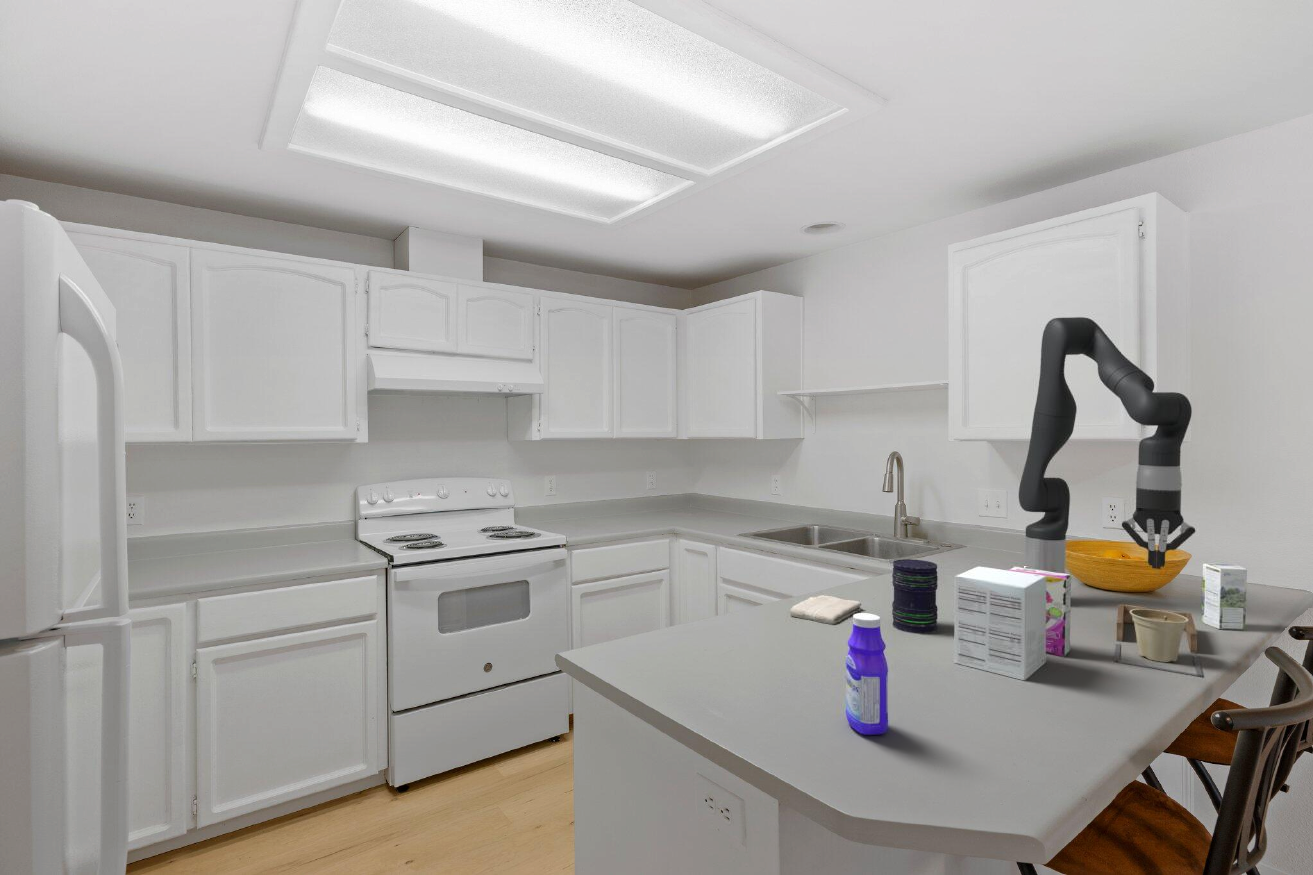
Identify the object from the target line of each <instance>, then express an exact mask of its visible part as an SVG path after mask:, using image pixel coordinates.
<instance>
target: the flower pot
mask: <svg viewBox="0 0 1313 875" xmlns="http://www.w3.org/2000/svg"><path fill="white" fill-rule="evenodd" d="M1130 614H1131V615H1132V619H1133V621H1134V629H1135V635H1136V636H1135V637H1136V644H1137V653H1138V655H1139V656H1140V657H1145V658H1147V659H1148V660H1151V661H1155V662H1161V663H1169V662H1173V663H1174V662H1177V660H1178V658H1179V657H1178V655H1179V651H1180V646H1181V640H1182V636H1183V632H1184V631H1183V629H1184V628H1185V625H1186V623H1187V622H1188V619H1187V618H1186V617H1184V616H1181V615H1178V614H1174V613H1171V612H1166V611H1160V610H1152V609H1133V610H1130Z"/></svg>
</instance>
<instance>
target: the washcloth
mask: <svg viewBox="0 0 1313 875" xmlns="http://www.w3.org/2000/svg"><path fill="white" fill-rule="evenodd" d="M861 606H862V602H861V601H857V600H852V599H851V600H848V599H841V598H838V597H835V596H831V595H823V594H821V595H818V596H810V597H808V599H806V600H802V601H800V602H798V603H797V604H794V605H793V606H792V607H791V608H790V610H789V611H790V612H789V615H790V616H792V617H794V618H796V619H797V618H798V619H803V620H804V619H805V620H809V621H814V622H815V623H816V622H817V623H823V624H828V625H832V626H833V625H836V624H837V623H839V622H841V621H843V620H846V619H847V618H848V617H850V616H853V615H854V614H857V613H859V611H862V608H861Z"/></svg>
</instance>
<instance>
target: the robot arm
mask: <svg viewBox="0 0 1313 875" xmlns="http://www.w3.org/2000/svg"><path fill="white" fill-rule="evenodd" d="M1041 337H1042V338H1041V347H1040V348H1041V349H1040V367H1039V368H1040V370H1039V378H1038V388H1037V394H1036V400H1035V406H1034V412H1033V418H1032V425H1031V434H1030V441H1029V445H1028V452H1027V455H1026V459H1025V464H1024V468H1023V471H1022V475H1021V477H1020V478H1021V479H1020V483H1019V487H1018V502H1019V505H1020V507H1021V509H1022V510H1023V511H1025V512H1029V513H1044V514H1043V516H1042V517H1041V519H1039V520H1038V521H1035V522H1032V523H1030V524H1028V525H1026V527H1025V548H1024V549H1025V552H1024V554H1025V555H1024V556H1025V563H1024V566H1023V568H1029V569H1035V570H1042V571H1049V572H1056V573H1063V574H1067V573H1066V568H1067V566H1066V565H1067V564H1066V563H1067V561H1066V558H1067V557H1066V556H1067V555H1066V554H1067V553H1066V552H1067V548H1066V547H1067V546H1066V545H1067V543H1066V542H1067V538H1066V537H1067V532H1068V529H1069V519H1070V505H1071V494H1070V493H1071V492H1070V488H1069V485H1068V483H1067V482H1066V481H1065V479H1063V478H1060V477H1045V475H1046V472H1047V468H1048V467H1049V464H1050V462H1051V461H1052V459H1053V458H1054V457H1055V456H1056V454H1057V453H1058V452H1059V451H1060V450H1061V449H1062V448H1063V447H1064V446H1065V445H1066V443H1067V442H1068V441H1069V439H1070V438H1071V437H1072V434H1073V432H1074V428H1075V422H1076V417H1077V416H1076V415H1077V403H1076V400H1075V397H1074V396H1073V392H1071V390H1070V388H1069V386H1068V383H1067V381H1066V377H1065V366H1066V357H1067V356H1078V355H1083V356H1087V357H1088V358H1090V359H1092V360H1093V361H1095V363H1096V364H1097V373H1098V377H1099V380H1100V381H1101V382H1102V383H1103V385H1104V386H1105V387H1106V388H1107V389H1108V390H1109V391H1110V392H1112V394H1114V395H1115V397H1117V398H1119V400H1120V402H1121V404H1122V406H1123V407H1124V409H1125V411H1126V412H1127V414H1128V415H1129V417H1130V418H1131V420H1133V421H1134V422H1136V423H1137V424H1140V425H1143V426H1151V427H1152V426H1154V427H1155V426H1157V428H1156V429H1155V432H1154V434H1153V435H1152V436H1148V437H1144V438H1142V439H1141V440H1140V441H1139V444H1138V462H1137V463H1138V465H1137V471H1136V480H1135V484H1136V485H1135V487H1136V488H1135V490H1136V492H1135V510H1134V512H1133V514H1132V517H1131V518H1130V519H1129V518H1128V520H1123V521H1122V522H1121V527H1122V528H1123V529H1124V531H1126V533H1127V534H1128V535H1129V537H1131V539H1133V541H1134V542H1135V543H1136V544H1137V546H1139V547H1140V548H1145V549H1146V550H1147V564H1148V566H1151V569H1153V570H1154V569H1156V570H1161V568H1162V567H1163V568H1164V567H1165V565H1166V552H1168V551H1175V550H1177V549H1178V548H1179V547H1180V546H1182V545H1183V544H1184V543H1185V542H1186V541H1187V540H1188V539H1189V538H1191V537H1192V536H1193V535H1194V534H1195V533H1196V528H1195V527H1194V526H1193V525H1190V524H1188V523H1187V522H1185V521H1184V516H1183V515H1182V513H1181V512H1182V511H1181V510H1182V509H1181V508H1182V507H1181V506H1182V472H1181V446H1182V444H1183V441H1184V439H1185V437H1186V433H1187V430H1188V427H1189V425H1190V422H1191V418H1192V414H1193V413H1192V412H1193V409H1192V405H1191V402H1190V400H1189V399H1188V397H1187V396H1186V395H1184V394H1183V393H1181V392H1177V391H1176V392H1174V391H1173V392H1169V391H1163V392H1162V391H1161V392H1159V391H1157V392H1156V391H1155V392H1154V389H1155V382H1154V380H1153V379H1152V378H1151V377H1150V376H1149V375H1148V374H1147V373H1146V372H1144V371H1143V370H1142V369H1141V368H1139V367H1138V366H1137V365H1136V364H1134V363H1133V362H1132V361H1130V359H1128V358H1127V357H1126V356H1125V355H1124V354H1123V353H1122V352H1121V351H1120V350H1119V348H1118V347H1117V346H1116V345H1115V343H1114V342H1113V341H1112V340H1111V339H1110V338H1109V337H1108V335H1107V334H1106V333H1105V331H1104V330H1103V329H1102V328H1101V327H1100V325H1099V324H1098V323H1097V322H1096V321H1095V320H1093V319H1091V318H1089V317H1083V316H1081V317H1080V316H1079V317H1077V316H1075V317H1054V318H1052V319H1050V320H1049V321H1048V322H1047V324H1046V325H1045V327H1044V329H1043V332H1042V336H1041ZM1136 524H1137V525H1138V527H1139V528H1140V529H1141V530H1142V531H1143V532H1144V533H1145V534H1147V540H1145V539H1143V538H1142V536H1141V535H1140V534H1139V533H1138V532H1137V531H1136V528H1137V526H1136ZM1179 527H1180V528H1179ZM1178 528H1179V532H1180V533H1179V535H1177V536H1176V537H1175V538H1173V539H1172V540H1171V541H1170V542H1168V536H1170V535H1172V534H1173V533H1174V532H1175V531H1176V530H1178ZM1156 535H1159V537H1158V544H1157V545H1158V546H1157V548H1156V537H1155V536H1156Z"/></svg>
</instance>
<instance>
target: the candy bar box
mask: <svg viewBox="0 0 1313 875" xmlns="http://www.w3.org/2000/svg"><path fill="white" fill-rule="evenodd" d="M1006 570H1007V571H1015V572H1022V573H1029V574H1036V575H1042V576H1046V654H1048V655H1054V656H1058V657H1059V656H1060V657H1064V658H1065V657H1066V655H1067V654H1068V653H1069V652H1071V651H1070V650H1071V649H1070V648H1071V606H1072V605H1071V603H1072V602H1071V598H1072V594H1071V593H1072V575H1071V574H1068V573H1066V574H1063V573H1056V572H1049V571H1042V570H1035V569H1029V568H1024V567H1021V566H1012V567H1010V568H1008V569H1006Z"/></svg>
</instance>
